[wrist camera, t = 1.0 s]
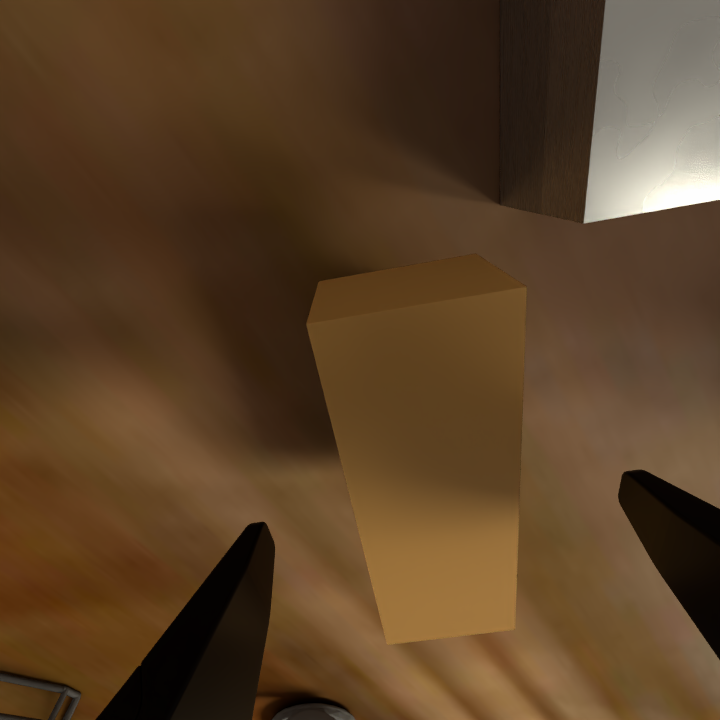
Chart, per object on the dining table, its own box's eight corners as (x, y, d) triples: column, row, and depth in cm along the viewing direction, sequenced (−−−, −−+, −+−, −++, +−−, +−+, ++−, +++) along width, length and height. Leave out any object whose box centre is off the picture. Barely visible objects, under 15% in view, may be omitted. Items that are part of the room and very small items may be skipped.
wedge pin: (441, 231, 13) (526, 286, 7) (457, 468, 18) (514, 629, 12) (327, 251, 13) (306, 323, 7) (374, 480, 18) (387, 644, 12)
